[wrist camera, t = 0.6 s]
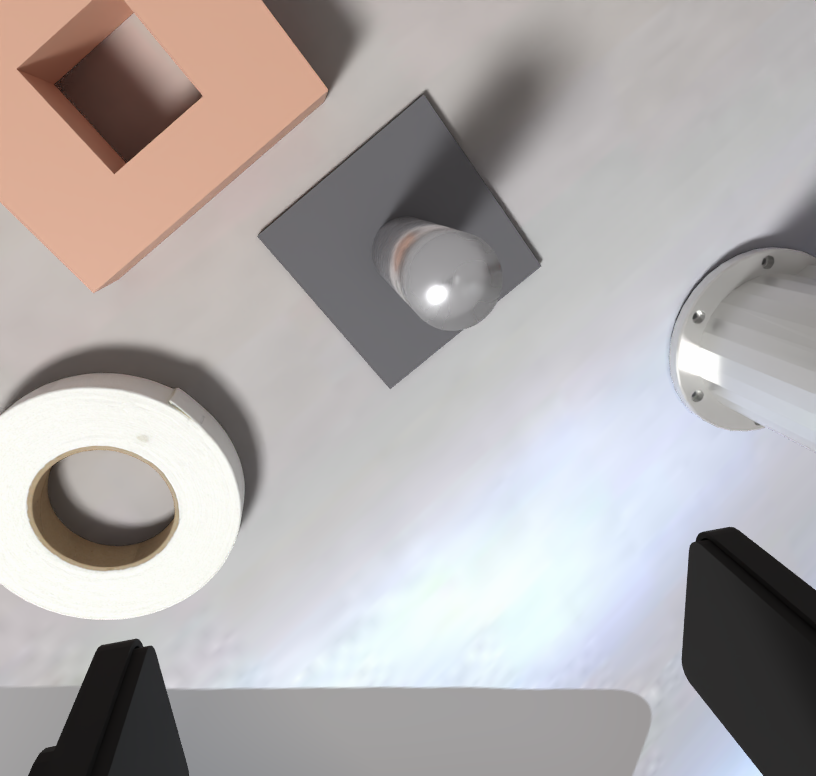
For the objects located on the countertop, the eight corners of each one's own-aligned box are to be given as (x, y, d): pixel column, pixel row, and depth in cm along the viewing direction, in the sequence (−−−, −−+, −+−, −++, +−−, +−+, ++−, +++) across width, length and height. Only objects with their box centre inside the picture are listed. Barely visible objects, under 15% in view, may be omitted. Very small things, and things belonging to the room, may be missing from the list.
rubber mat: (422, 95, 34) (423, 94, 34) (538, 265, 38) (541, 266, 38) (257, 235, 35) (257, 236, 35) (389, 387, 39) (390, 389, 39)
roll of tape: (206, 614, 42) (200, 643, 40) (-43, 564, 38) (-68, 592, 36) (276, 412, 39) (275, 429, 36) (10, 334, 35) (-14, 346, 32)
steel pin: (411, 201, 36) (464, 210, 24) (452, 256, 37) (521, 288, 26) (357, 246, 36) (386, 275, 25) (400, 299, 37) (445, 350, 26)
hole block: (157, -120, 29) (134, -171, 25) (324, 101, 34) (328, 90, 29) (-71, 89, 30) (-130, 75, 26) (118, 279, 35) (93, 293, 30)
